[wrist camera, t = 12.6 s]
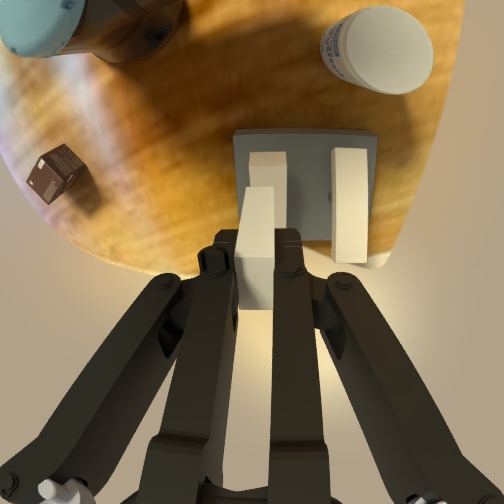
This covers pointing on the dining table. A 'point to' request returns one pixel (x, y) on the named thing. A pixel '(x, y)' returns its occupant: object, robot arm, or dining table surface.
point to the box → (55, 173)
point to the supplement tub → (379, 50)
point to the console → (304, 170)
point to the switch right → (349, 205)
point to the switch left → (271, 180)
